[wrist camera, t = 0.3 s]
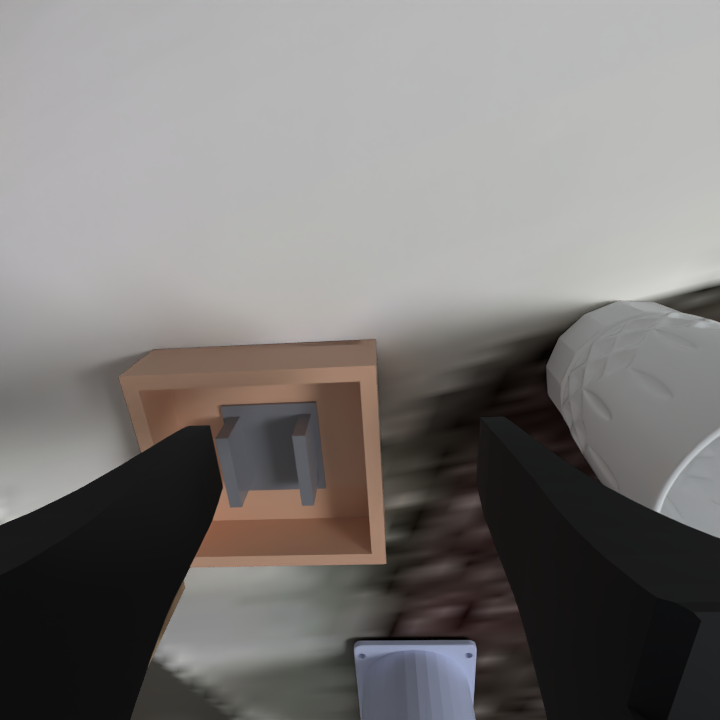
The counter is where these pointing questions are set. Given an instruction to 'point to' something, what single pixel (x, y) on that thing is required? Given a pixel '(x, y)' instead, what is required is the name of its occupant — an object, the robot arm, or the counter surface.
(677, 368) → the white cup
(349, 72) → the counter surface
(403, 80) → the counter surface
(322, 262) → the counter surface
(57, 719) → the robot arm
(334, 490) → the shallow square frame box
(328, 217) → the counter surface
